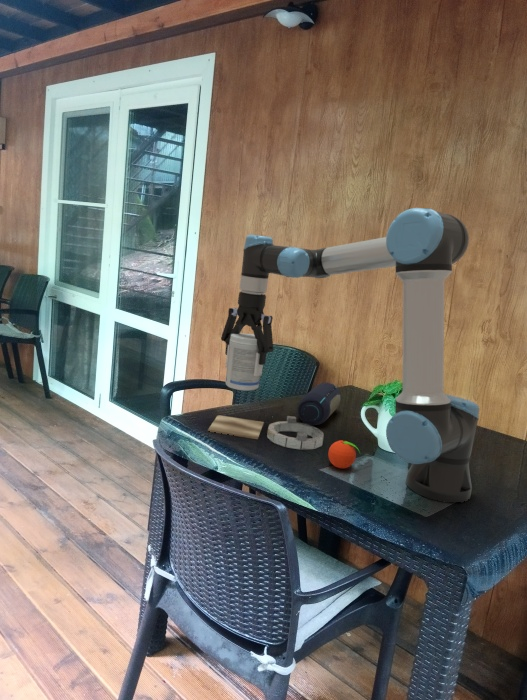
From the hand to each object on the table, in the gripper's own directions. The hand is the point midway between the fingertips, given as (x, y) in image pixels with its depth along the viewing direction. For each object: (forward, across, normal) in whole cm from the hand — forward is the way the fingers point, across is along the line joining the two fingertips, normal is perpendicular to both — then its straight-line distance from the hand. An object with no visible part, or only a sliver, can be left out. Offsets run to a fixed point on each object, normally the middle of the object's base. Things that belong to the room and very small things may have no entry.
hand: (243, 371), depth 161 cm
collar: (+17, -16, -7) cm, 24 cm away
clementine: (+17, -35, +1) cm, 39 cm away
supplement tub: (+5, 0, 0) cm, 5 cm away
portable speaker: (+17, -9, -31) cm, 37 cm away
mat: (+17, 0, 0) cm, 17 cm away
